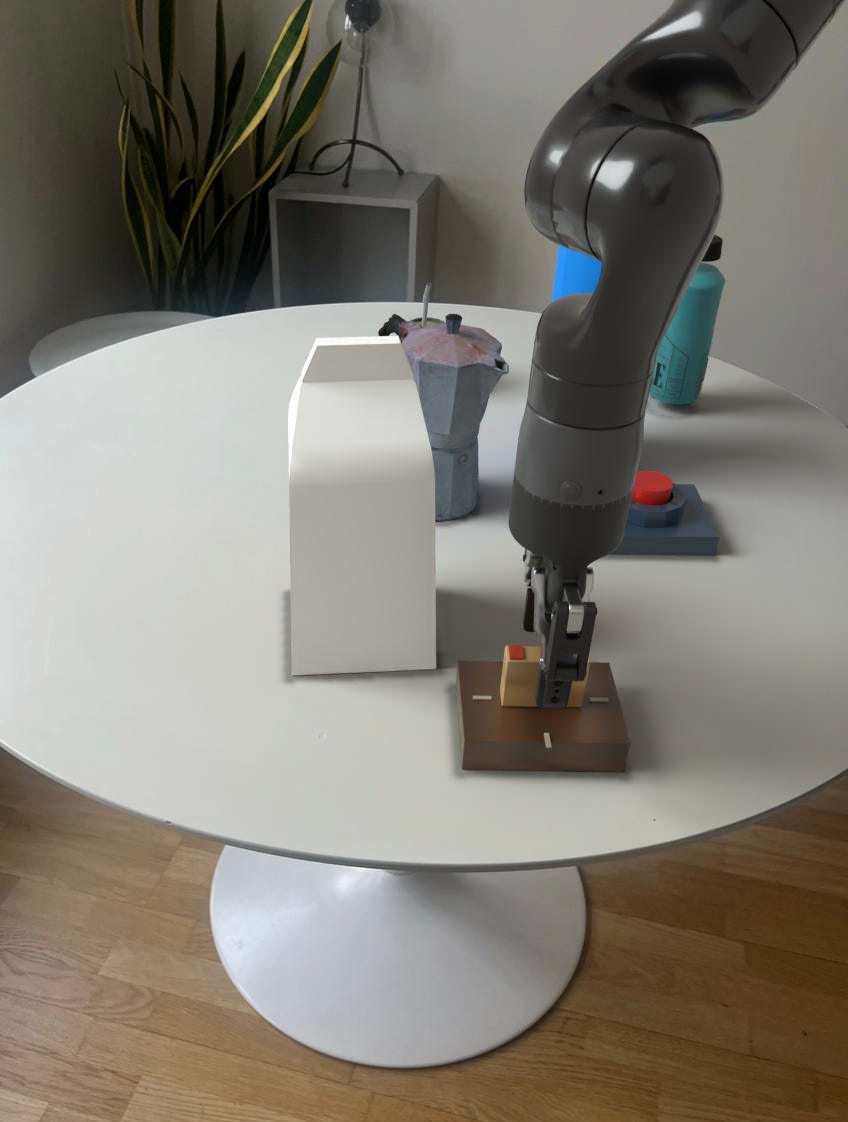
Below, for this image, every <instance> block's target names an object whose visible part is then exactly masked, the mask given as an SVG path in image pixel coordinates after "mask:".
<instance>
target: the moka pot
mask: <svg viewBox="0 0 848 1122" xmlns="http://www.w3.org/2000/svg"><path fill="white" fill-rule="evenodd" d="M462 323H463V316H462V315H460V314H458V313H448V314H447V315H445V323H440V324H434V325H428V326H421V324H420V323H417V322H414V321H410V320H406V319H404V318H403V317H401V315H399V314H396V313H393V314H391V317H389V318H388V321H385V322H384V323H383V325H382V327H380V328H379V330H378V331H377V334H378V336H391V335H392V334H396V336H399V338H400V339H401V340H402V341H403V342H402V346H403V348H404V351H405V353H406V356H407V358H408V361H409V363H410V366H411V368H412V372H413V374H414V379H415V383H416V386H417V391H418V395H419V399H420V403H421V408H422V412H423V416H424V420H425V425H426V429H427V433H428V437H429V442H430V446H431V451H432V457H433V462H434V471H435V521H437V522H440V521H441V522H443V521H444V522H445V521H451V520H456V519H460V518H462V517H464V516H466V515H468V514H470V513H471V512H472V511H474V509H475V508H476V506H477V504H478V501H479V498H480V497H479V495H480V481H479V480H480V479H479V477H480V476H479V474H480V472H479V438H478V437H479V433H480V428H481V423H482V421H483V419H484V417H485V416H484V415H485V414H486V411H487V407H488V403H489V399H490V395H491V394H492V392H493V390H494V389H495V387H496V386H497V384H498V383H499V381H500V379H501V378H502V377H503V375H507V374H510V365H509V363H507V362H506V361H505V358H503V356H501V353H502V350H503V345H502V342H501V341H500V340H498V339H497V338H495V337H494V336H493V335H491V333H489V332H488V331H486V329H483V328H482V327H476V326H471V325H465V324H462Z"/></svg>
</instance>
